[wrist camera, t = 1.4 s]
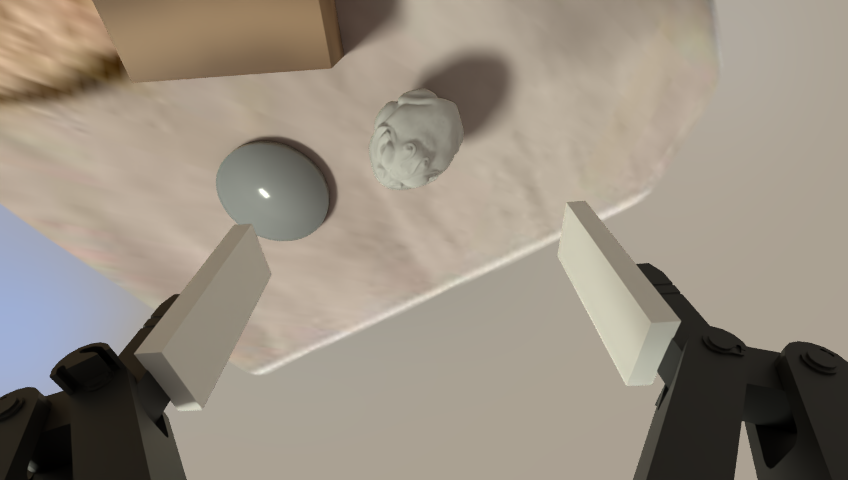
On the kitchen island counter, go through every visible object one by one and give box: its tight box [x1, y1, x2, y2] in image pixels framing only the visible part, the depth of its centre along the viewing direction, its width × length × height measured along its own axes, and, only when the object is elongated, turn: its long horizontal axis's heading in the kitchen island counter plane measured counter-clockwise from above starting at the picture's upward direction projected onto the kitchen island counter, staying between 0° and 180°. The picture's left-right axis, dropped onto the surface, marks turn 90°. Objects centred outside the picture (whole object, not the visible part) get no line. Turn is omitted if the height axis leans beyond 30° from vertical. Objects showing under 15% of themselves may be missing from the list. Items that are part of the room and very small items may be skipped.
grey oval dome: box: [216, 141, 330, 241], centre depth 31 cm, size 9×9×1 cm
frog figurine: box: [369, 88, 464, 190], centre depth 26 cm, size 6×7×7 cm
